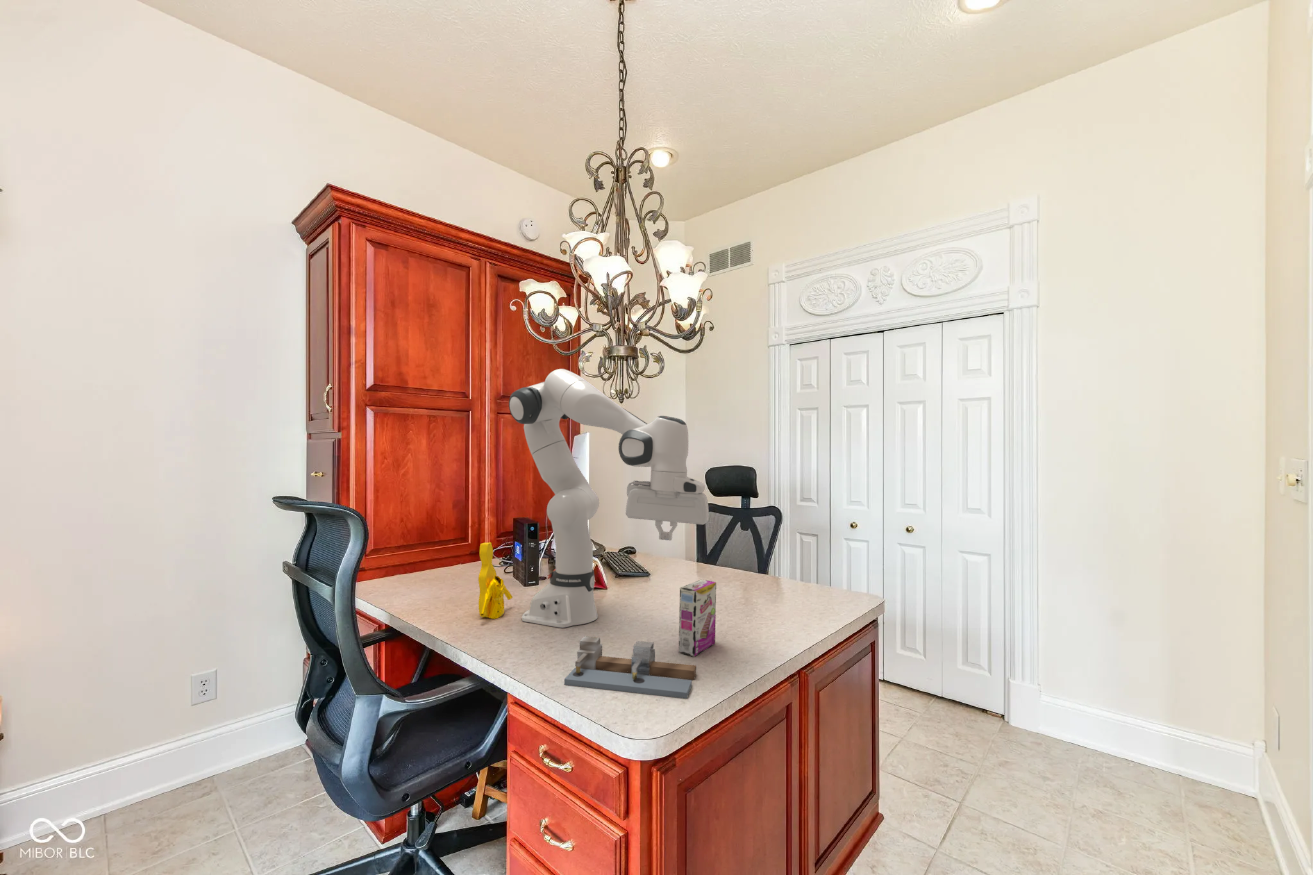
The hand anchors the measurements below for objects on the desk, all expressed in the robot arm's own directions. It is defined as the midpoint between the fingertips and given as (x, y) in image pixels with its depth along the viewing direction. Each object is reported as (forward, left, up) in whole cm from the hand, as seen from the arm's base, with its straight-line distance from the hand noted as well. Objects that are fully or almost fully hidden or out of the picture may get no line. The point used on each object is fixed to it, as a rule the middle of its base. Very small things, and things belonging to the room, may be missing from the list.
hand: (665, 539), depth 130 cm
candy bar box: (+7, +9, -29) cm, 31 cm away
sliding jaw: (-3, -10, -29) cm, 31 cm away
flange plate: (-5, -15, -29) cm, 33 cm away
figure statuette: (-58, +20, -29) cm, 68 cm away
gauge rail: (-5, -10, -29) cm, 31 cm away
